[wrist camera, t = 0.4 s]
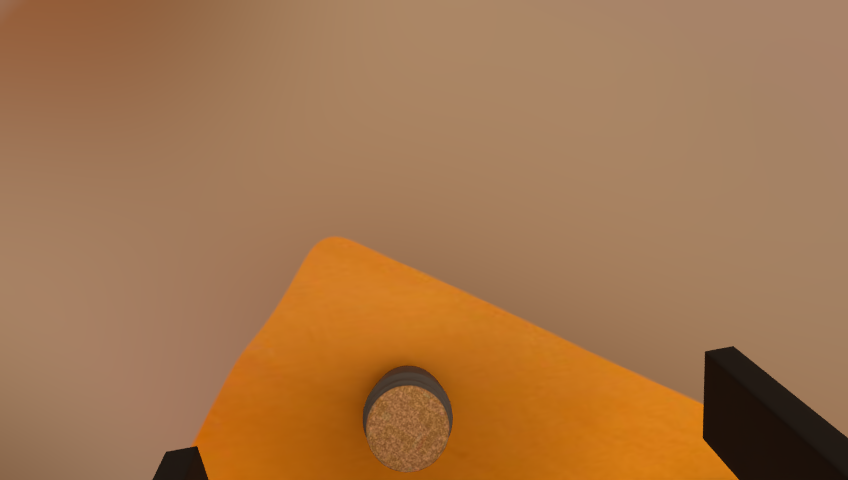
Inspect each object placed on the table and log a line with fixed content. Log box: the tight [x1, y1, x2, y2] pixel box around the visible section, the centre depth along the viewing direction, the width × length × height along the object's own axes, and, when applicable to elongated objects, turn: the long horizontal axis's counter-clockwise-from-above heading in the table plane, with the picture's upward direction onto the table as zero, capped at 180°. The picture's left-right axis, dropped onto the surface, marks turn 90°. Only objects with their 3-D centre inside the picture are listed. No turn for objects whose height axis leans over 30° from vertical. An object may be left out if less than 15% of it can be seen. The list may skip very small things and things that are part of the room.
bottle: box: [363, 366, 453, 472], centre depth 39 cm, size 6×6×15 cm
